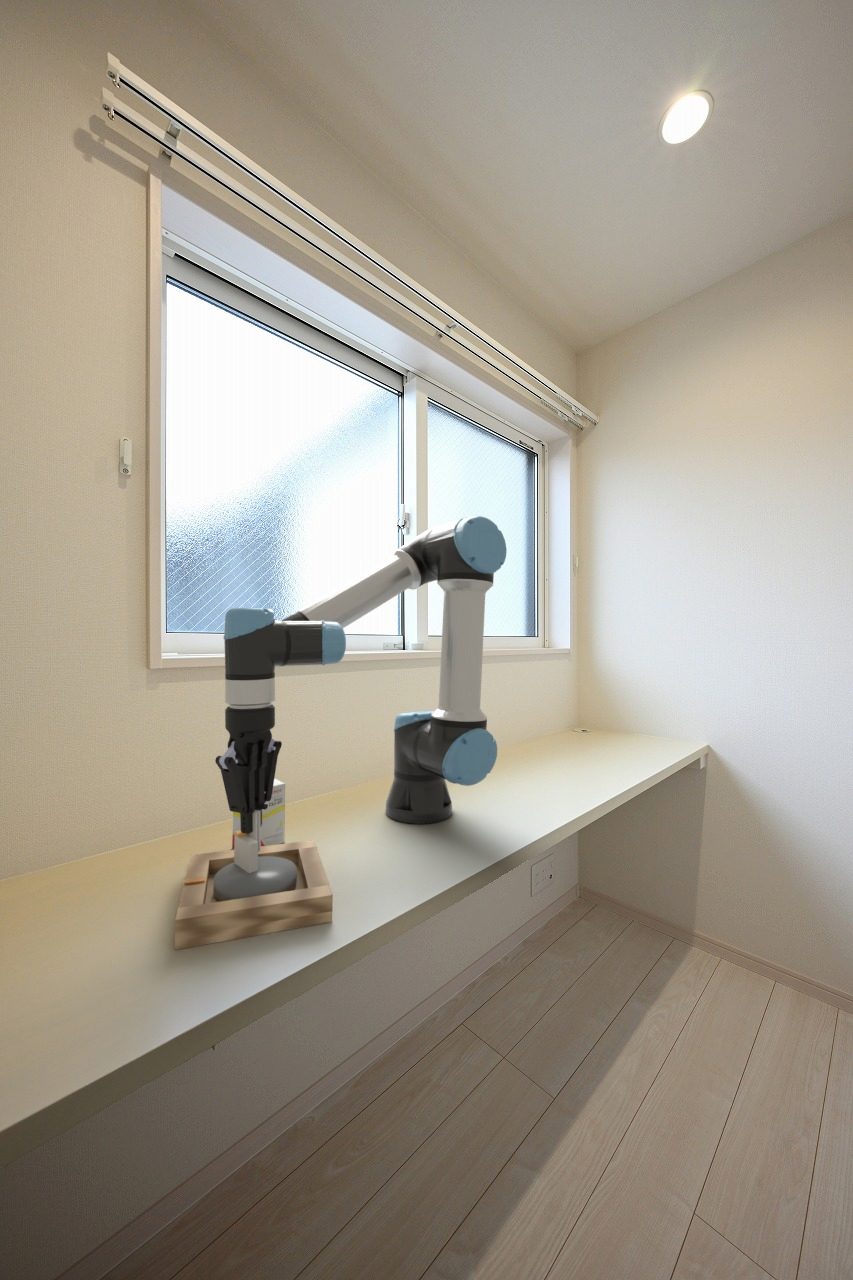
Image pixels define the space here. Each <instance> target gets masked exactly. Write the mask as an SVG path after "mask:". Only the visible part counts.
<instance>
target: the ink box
mask: <svg viewBox="0 0 853 1280" xmlns="http://www.w3.org/2000/svg"><path fill="white" fill-rule="evenodd" d="M264 793H265V792H264ZM264 804H268V807H267V809H265V810H264V809H262V826H261V846H269V845H277V844H285V838H286V836H285V835H286V783H285V782H283V781H280V780H279V779H277V778H275V777H274V784H273V790H272V797H271V800H270V801H266V802H265V803H264ZM240 830H241V821H240V813H238V812H232V838H231V839H232V840H231V841H232V842H231V843H232V844H231V849H232V850H234V839H235V832H236V831H240Z"/></svg>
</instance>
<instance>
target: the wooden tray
mask: <svg viewBox="0 0 853 1280" xmlns="http://www.w3.org/2000/svg"><path fill="white" fill-rule="evenodd" d="M261 856H273V857H281V858H285V859H288V860H290V861H291V862H293V863H294V864H295V865H296V868H297V882H296V887H295V888H294V890H293V891H286V892H280V893H273V894H267V895H260V896H254V897H247V898H241V899H234V900H228V901H221V902H218V901H217V900H216V899H215V898H214V895H213V887H214V876H215V875H216V873H217V872H218V871H219V870H221V869H222V868H223V867H225V866H227V865H229V864H231V863H233V862H234V849H231V850H230V849H228V850H221V851H214V852H212V851H211V852H204V853H196V854H190V857H189V861H188V864H187V868H186V873H185V877H184V881H183V882H184V883H183V886H182V889H181V890H182V891H181V894H180V898H179V902H178V903H179V904H178V907H177V911H176V915H175V920H174V951H176V950H183V949H186V948H188V949H189V948H193V947H199V946H204V945H209V944H214V943H215V944H216V943H220V942H221V943H222V942H227V941H232V940H237V939H244V938H248V937H254V936H259V935H260V936H261V935H265V934H271V933H272V934H273V933H276V932H282V931H288V930H289V931H290V930H293V929H295V930H296V929H298V928H306V927H310V926H317V925H321V924H328V923H332V922H333V913H334V912H333V910H334V909H333V906H334V905H333V901H334V898H333V897H334V896H333V892H332V888H331V885H330V882H329V880H328V879H329V878H328V877H327V874H326V872H325V871H326V870H325V868H324V865H323V862H322V860H321V859H322V858H321V856H320V853H319V851H318V848H317V844H316V842H315V839H312V840H305V841H302V840H301V841H295V842H287V843H281V844H277V845H269V846H261V851H259V852H258V857H261Z"/></svg>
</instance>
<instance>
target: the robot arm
mask: <svg viewBox="0 0 853 1280" xmlns="http://www.w3.org/2000/svg"><path fill="white" fill-rule="evenodd" d="M506 557H507V543H506V539H505V537H504V534H503V532H502V530H500V529H499V527H498V525H497V524H496V523H495V521H492V520H491V519H489V518H487V517H485V516H480V515H479V516H478V515H477V516H476V515H475V516H469V517H467V516H466V517H462V518H459V519H458V520H454V521H451V522H448V523H444V524H441V525H437V526H434V527H431V528H429V529H427V530H426V531H423V532H422V533H421V534H418V535H417V536H416V537H415V538H413V539H411V540H410V541H409V542H407V543H405V544H404V545H402V546H399V547H398V548H397V549H396V550H394V551H392V552H391V554H390V558H388V559H387V560H385V561H384V562H382V563H380V564H378V565H377V566H375V567H373V568H371V569H370V570H368V571H366V572H364V573H363V574H361V575H358V576H357V577H356V578H354V579H352V580H350V581H349V582H347V583H345V584H343V585H341V586H340V587H338V588H336V589H335V590H333V591H331V592H329V593H327V594H326V595H324V596H322V597H320V598H318V599H317V600H315V601H314V602H312V603H310V604H308V605H306V606H304V607H302V608H301V609H300V610H298V611H296V612H293V614H291V615H289V616H287V617H284V618H283V619H281V620H276V617H275V612H274V610H272V609H271V608H256V607H235V608H231V609H228V610H227V612H226V613H225V618H224V619H225V620H224V633H223V640H224V669H225V671H224V675H225V677H224V678H225V679H224V682H225V684H224V686H225V689H224V692H225V694H224V695H225V696H224V697H225V698H224V699H225V700H224V701H225V704H227V705H229V706H226V708H225V709H224V720H225V722H224V723H225V724H224V728H225V729H226V731H227V732H228V733H229V738H228V741H227V750H226V751H225V753H223V755H217V756H216V758H215V761H214V762H215V764H216V765H217V767H218V769H219V770H220V773H221V778H222V782H223V786H224V791H225V795H226V800H227V803H228V808H229V811H230V812H232V813H233V812H238V813H240V821H241V832H242V833H246V834H247V836H248V837H250V838H252V839H254V840H256V841H257V842H258V852H259V851H261V826H262V809H264V810H265V809H267V807H268V804H264V803H265V802H266V801H270V800H271V797H272V790H273V784H274V778H275V777H276V770H277V763H278V757H279V753H280V751H281V748H282V744H283V743H282V741H281V740H275V739H274V738H273V734H272V731H271V730H272V729H274V728H275V725H276V706H274V704H273V703H274V702H275V701H276V678H275V677H276V672H275V671H276V667H285V666H288V667H289V666H315V665H316V666H318V665H322V666H325V665H332V664H337V663H340V662H341V661H342V660H343V658H344V656H345V652H346V650H347V649H346V648H347V639H346V633H345V630H344V628H346V627H348V626H349V625H351V624H353V623H354V622H356V621H358V620H359V619H361V618H363V617H364V616H366V615H367V614H369V613H371V612H372V611H374V610H375V609H378V607H380V606H382V605H384V604H385V603H387V602H389V601H390V600H392V599H393V598H395V597H396V596H398V595H400V594H402V593H403V592H405V591H406V590H417V589H418V588H419V587H421V586H423V585H426V584H429V583H431V582H434V581H437V582H436V584H437V585H438V586H439V587H440V588H441V590H442V591H443V609H442V610H443V611H442V628H441V630H442V631H441V632H442V633H441V648H440V649H441V652H440V668H439V670H440V671H439V672H440V673H439V693H438V707H437V708H436V709H435V710H426V711H425V710H424V711H409V712H402V713H399V714H398V715H396V716H395V719H394V728H393V732H394V739H393V740H394V742H393V743H394V744H393V745H394V747H393V748H394V749H393V750H394V753H393V754H394V758H393V759H394V760H393V771H394V772H393V781H392V784H391V785H390V786H391V787H390V790H389V792H388V795H387V798H386V800H385V801H386V803H385V813H386V815H387V817H389V818H391V819H392V820H395V821H397V822H400V823H409V824H419V825H420V824H432V823H439V822H442V821H444V820H446V819H448V818H450V817H451V816H452V814H453V804H452V803H453V802H452V799H451V795H450V792H449V789H448V786H447V782H449V783H452V784H455V785H457V784H458V785H461V786H465V787H468V786H469V787H471V786H474V785H477V784H479V783H481V782H482V781H483V780H485V779H486V777H487V775H488V774H490V773H491V772H492V770H493V769H494V767H495V763H496V761H497V757H498V744H497V741H496V739H495V738H494V735H493V734H492V733H491V732H489V730H488V729H487V727H488V726H487V725H488V724H487V723H488V717H487V715H486V714H485V713H484V712H483V711H482V709H481V695H482V677H483V676H482V674H483V653H484V652H483V651H484V632H485V631H484V627H485V609H486V608H485V607H486V606H485V605H486V594H487V592H488V591H489V590H490V589H491V588H493V586H494V574H495V573H496V572H498V571H499V570H500V569H501V568H502V565H504V563H505V562H506ZM446 781H447V782H446ZM264 792H265V793H264Z"/></svg>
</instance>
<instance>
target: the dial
mask: <svg viewBox="0 0 853 1280" xmlns="http://www.w3.org/2000/svg"><path fill="white" fill-rule="evenodd" d="M233 850H234V862H233V863H231V864H229V865H227V866H225V867H223V868H222V869H221V870H219V871H218V872H217V873H216V875H215V876H214V887H213V895H214V898H215V899H216V900H217V901H218V902H221V901H228V900H234V899H241V898H247V897H254V896H260V895H267V894H273V893H280V892H286V891H293V890H294V888H295V887H296V882H297V868H296V865H295V864H294V863H293V862H291V861H290V860H288V859H285V858H281V857H273V856H261V857H258V842H257V841H256V840H254V839H252V838H250V837H248V836H247V834H246V833H242V832H241V830H240V831H236V832H235V839H234V849H233Z"/></svg>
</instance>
